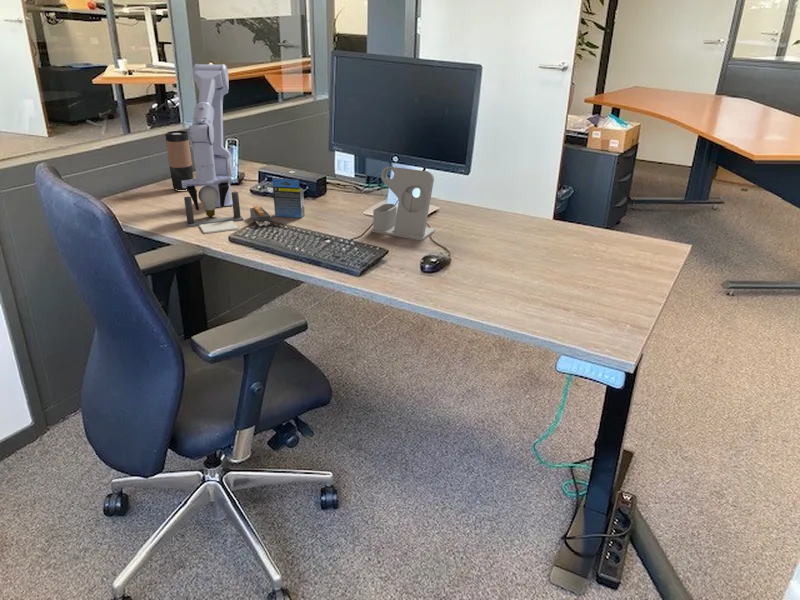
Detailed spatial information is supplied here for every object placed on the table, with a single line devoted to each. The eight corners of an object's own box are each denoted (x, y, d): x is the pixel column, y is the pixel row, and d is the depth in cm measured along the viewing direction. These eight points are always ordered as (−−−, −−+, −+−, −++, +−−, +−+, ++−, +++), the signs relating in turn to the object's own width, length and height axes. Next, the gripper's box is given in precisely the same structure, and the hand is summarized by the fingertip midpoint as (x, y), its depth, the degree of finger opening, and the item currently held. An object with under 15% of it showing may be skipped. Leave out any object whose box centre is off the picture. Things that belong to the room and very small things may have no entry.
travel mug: (199, 189, 226) (192, 132, 217) (179, 193, 221) (171, 135, 212) (188, 185, 231) (181, 130, 222) (168, 189, 225) (160, 132, 217)
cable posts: (185, 224, 189) (181, 196, 186) (241, 217, 196) (238, 190, 193) (186, 227, 187) (183, 199, 183) (243, 220, 194) (240, 193, 190)
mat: (199, 226, 188) (199, 224, 188) (232, 222, 192) (232, 220, 192) (204, 233, 182) (204, 232, 182) (238, 229, 186) (238, 227, 186)
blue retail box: (305, 215, 200) (303, 177, 195) (301, 218, 196) (299, 180, 191) (278, 213, 201) (276, 175, 196) (274, 216, 198) (271, 178, 193)
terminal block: (250, 217, 196) (249, 205, 195) (262, 216, 198) (261, 204, 196) (259, 226, 188) (258, 214, 187) (271, 225, 190) (270, 212, 188)
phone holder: (369, 231, 186) (369, 171, 179) (384, 222, 195) (385, 164, 187) (422, 240, 180) (424, 179, 172) (436, 230, 188) (438, 171, 180)
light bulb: (209, 221, 192) (205, 189, 188) (197, 217, 196) (193, 186, 191) (224, 216, 197) (221, 185, 193) (212, 213, 200) (209, 182, 196)
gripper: (182, 169, 183) (188, 214, 189) (232, 165, 189) (236, 208, 195) (178, 164, 189) (184, 208, 194) (226, 160, 195) (231, 203, 200)
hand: (209, 208), depth 195 cm, fingers open, 7 cm apart
